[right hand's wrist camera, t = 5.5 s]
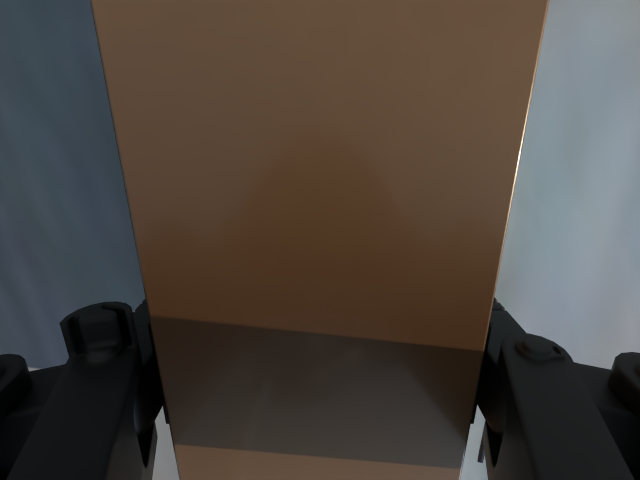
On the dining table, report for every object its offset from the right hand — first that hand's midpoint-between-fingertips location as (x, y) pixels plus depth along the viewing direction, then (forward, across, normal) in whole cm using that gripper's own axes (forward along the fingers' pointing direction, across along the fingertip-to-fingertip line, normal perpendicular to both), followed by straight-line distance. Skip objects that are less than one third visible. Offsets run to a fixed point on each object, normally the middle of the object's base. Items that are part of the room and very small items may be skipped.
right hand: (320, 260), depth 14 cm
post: (+1, 0, -31) cm, 31 cm away
